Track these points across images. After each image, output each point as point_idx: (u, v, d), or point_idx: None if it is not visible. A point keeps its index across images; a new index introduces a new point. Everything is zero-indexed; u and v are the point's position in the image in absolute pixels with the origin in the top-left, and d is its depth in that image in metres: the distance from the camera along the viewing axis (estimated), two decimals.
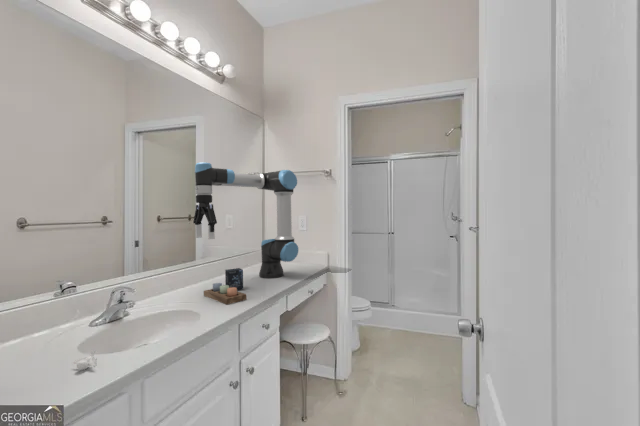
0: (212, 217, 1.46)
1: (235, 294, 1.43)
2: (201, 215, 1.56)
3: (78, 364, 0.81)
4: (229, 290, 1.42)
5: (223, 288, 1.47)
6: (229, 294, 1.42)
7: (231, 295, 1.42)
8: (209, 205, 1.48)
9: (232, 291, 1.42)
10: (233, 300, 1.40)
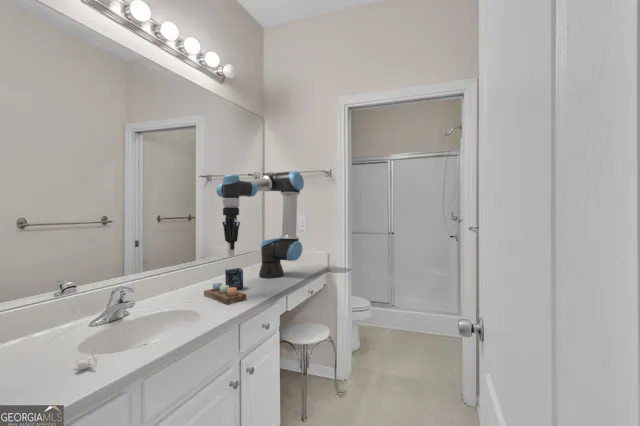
0: (234, 236, 1.48)
1: (235, 294, 1.43)
2: None
3: (78, 364, 0.81)
4: (229, 290, 1.42)
5: (223, 288, 1.47)
6: (229, 294, 1.42)
7: (231, 295, 1.42)
8: (236, 223, 1.46)
9: (232, 291, 1.42)
10: (233, 300, 1.40)
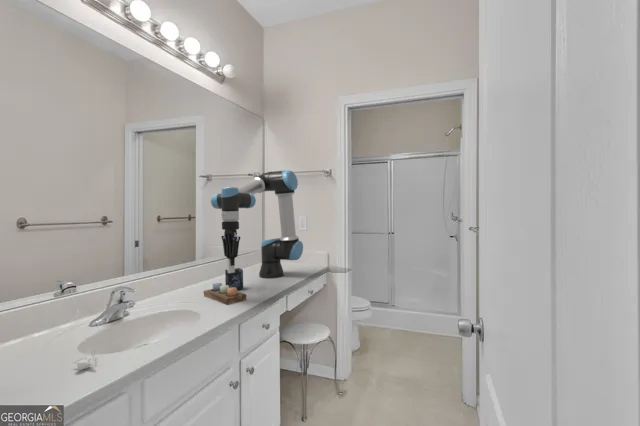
0: (234, 251, 1.40)
1: (235, 294, 1.43)
2: None
3: (79, 364, 0.81)
4: (229, 290, 1.42)
5: (223, 288, 1.47)
6: (229, 294, 1.42)
7: (231, 295, 1.42)
8: (236, 238, 1.39)
9: (232, 291, 1.42)
10: (233, 300, 1.40)
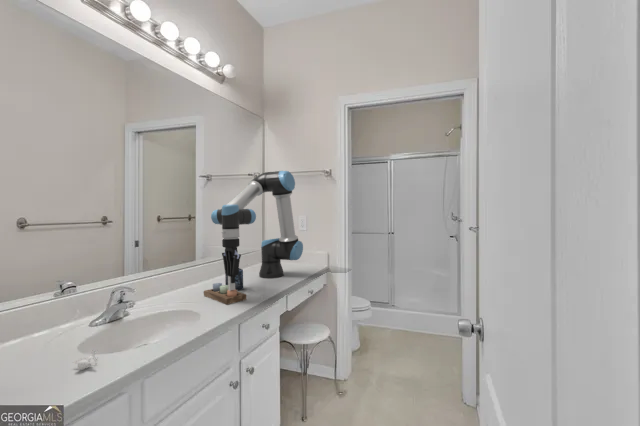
0: (235, 269, 1.40)
1: None
2: None
3: (79, 364, 0.81)
4: (229, 292, 1.42)
5: (223, 288, 1.47)
6: (229, 296, 1.42)
7: None
8: (237, 256, 1.39)
9: (232, 293, 1.42)
10: (233, 300, 1.40)
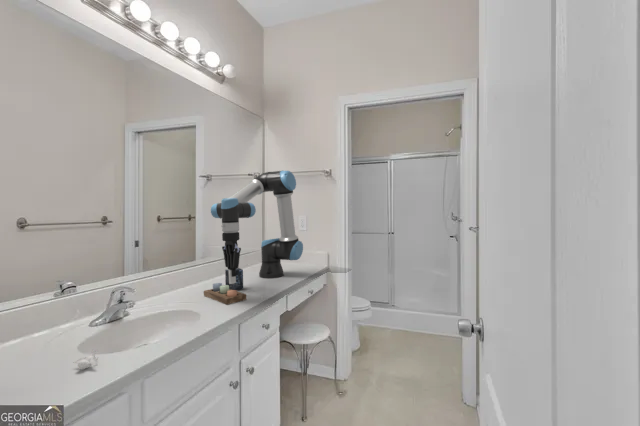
0: (235, 262, 1.41)
1: None
2: None
3: (79, 364, 0.81)
4: (229, 293, 1.42)
5: (223, 288, 1.47)
6: None
7: None
8: (237, 250, 1.39)
9: (232, 293, 1.42)
10: (233, 300, 1.40)
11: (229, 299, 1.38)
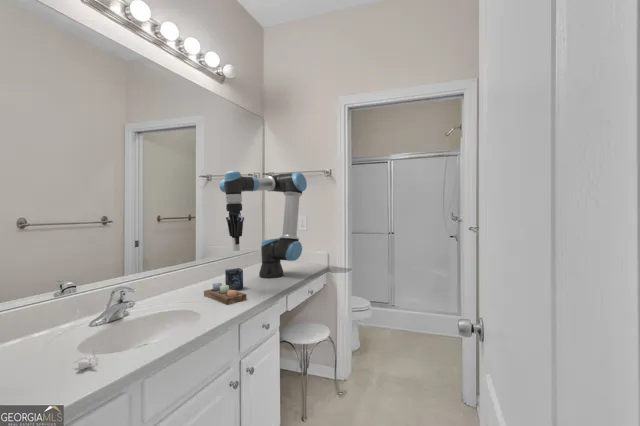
0: (239, 231, 1.52)
1: None
2: None
3: (79, 363, 0.81)
4: (229, 293, 1.42)
5: (223, 288, 1.47)
6: None
7: None
8: (240, 219, 1.50)
9: (232, 293, 1.42)
10: (233, 300, 1.40)
11: (229, 299, 1.38)
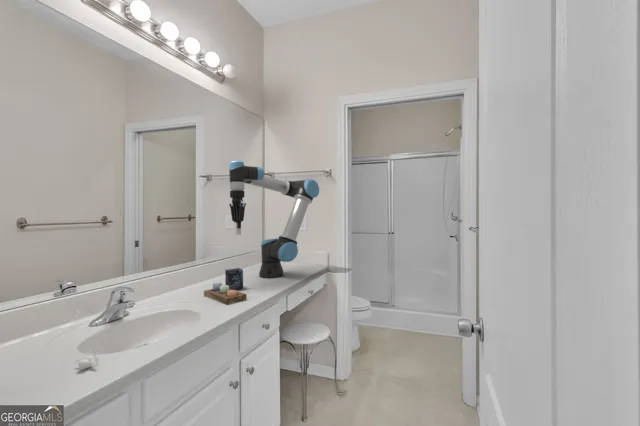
0: (241, 215, 1.64)
1: None
2: None
3: (80, 363, 0.81)
4: (229, 293, 1.42)
5: (223, 288, 1.47)
6: None
7: None
8: (242, 204, 1.63)
9: (232, 293, 1.42)
10: (233, 300, 1.40)
11: (229, 299, 1.38)
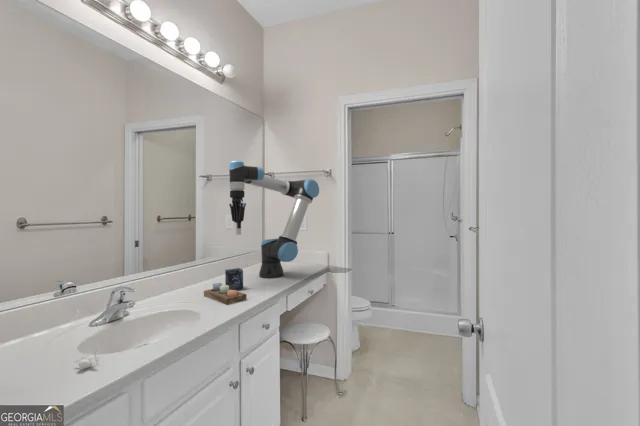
0: (241, 215, 1.64)
1: None
2: None
3: (80, 363, 0.81)
4: (229, 293, 1.42)
5: (223, 288, 1.47)
6: None
7: None
8: (242, 204, 1.63)
9: (232, 293, 1.42)
10: (233, 300, 1.40)
11: (229, 299, 1.38)
